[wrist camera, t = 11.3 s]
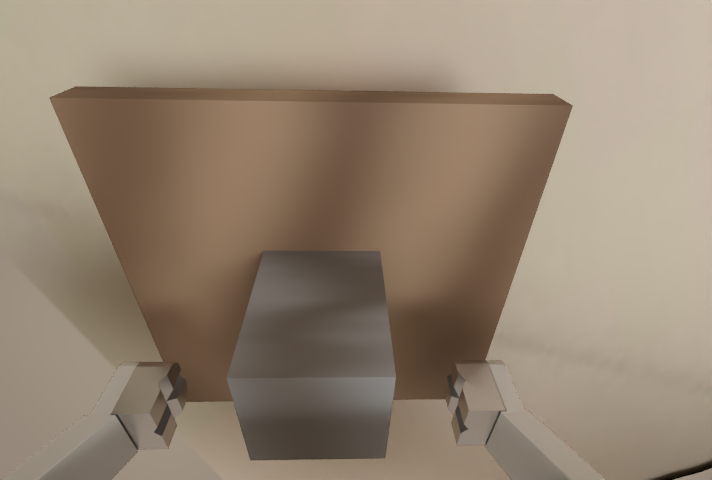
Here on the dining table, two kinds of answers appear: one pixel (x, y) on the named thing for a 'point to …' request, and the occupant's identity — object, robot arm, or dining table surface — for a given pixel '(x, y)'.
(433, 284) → the lid
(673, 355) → the dining table surface
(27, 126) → the dining table surface
